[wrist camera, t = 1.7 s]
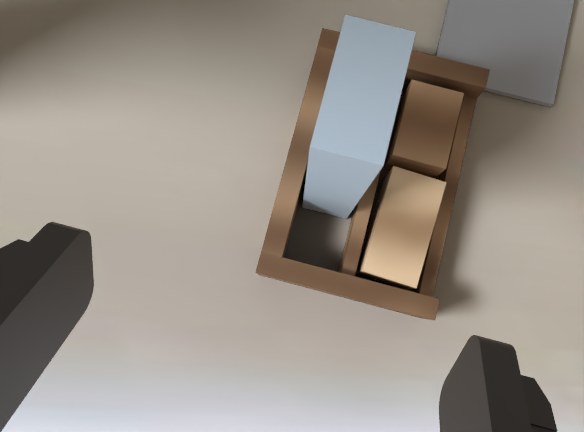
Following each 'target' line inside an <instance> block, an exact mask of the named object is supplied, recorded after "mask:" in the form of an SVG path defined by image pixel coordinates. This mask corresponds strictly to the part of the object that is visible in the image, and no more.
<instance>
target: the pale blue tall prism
mask: <svg viewBox="0 0 584 432" xmlns="http://www.w3.org/2000/svg"><path fill="white" fill-rule="evenodd" d="M415 35H416V32H415V31H411V30H406V29H402V28H398V27H394V26H390V25H386V24H382V23H378V22H374V21H370V20H366V19H362V18H358V17H354V16H349V15H345V17H344V21H343V24H342V28H341V32H340V36H339V39H338V43H337V47H336V51H335V54H334V58H333V62H332V66H331V69H330V73H329V77H328V80H327V84H326V88H325V92H324V95H323V99H322V103H321V107H320V110H319V114H318V118H317V122H316V125H315V129H314V133H313V136H312V140H311V144H310V149H309V157H308V165H307V173H306V181H305V189H304V197H303V205H302V208H306V209H310V210H314V211H318V212H321V213H325V214H329V215H333V216H337V217H341V218H344V219H347V217H348V216H349V214H350V213H351V212H352V210H353V209H354V207H355V206H356V204H357V203H358V202H359V200H360V199H361V197H362V196H363V194H364V193H365V192H366V190H367V189H368V187H369V186H370V184H371V183H372V181H373V180H374V179H375V177H376V176H377V174H378V173H379V171H380V170H381V169H382V167H383V166H384V162H385V158H386V153H387V149H388V145H389V141H390V137H391V133H392V129H393V125H394V121H395V117H396V112H397V108H398V104H399V100H400V96H401V92H402V88H403V84H404V80H405V76H406V72H407V67H408V63H409V59H410V55H411V51H412V47H413V43H414V39H415Z"/></svg>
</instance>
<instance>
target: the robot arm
mask: <svg viewBox="0 0 584 432" xmlns="http://www.w3.org/2000/svg"><path fill="white" fill-rule="evenodd" d="M93 287H94V279H93V263H92V246H91V236H90V234H89V232H88V231H85V230H81V229H77V228H74V227H70V226H66V225H62V224H59V223H55V222H50V223H48V224H46V225H45V226H44V227H43V228H42V229H41V230H40V231H39V232H38V233H37V234H36V235H35V236H34V237H33V238H32V239H31V240H30V242H27V241H23V240H19V239H18V240H16V241H14V242H12V243H10V244H8V245H6V246H4V247H2V248H1V249H0V432H1V431H2V429H3V428H4V426H5V425H6V424H7V422H8V421H9V419H10V418H11V416H12V415H13V414H14V412H15V411H16V409H17V408H18V406H19V405H20V404H21V402H22V401H23V399H24V398H25V397H26V395H27V394H28V392H29V391H30V389H31V388H32V387H33V385H34V384H35V382H36V381H37V379H38V378H39V377H40V375H41V374H42V372H43V371H44V369H45V368H46V367H47V365H48V364H49V362H50V361H51V359H52V358H53V357H54V355H55V354H56V352H57V351H58V349H59V348H60V347H61V345H62V344H63V342H64V341H65V339H66V338H67V337H68V335H69V334H70V332H71V331H72V329H73V328H74V327H75V325H76V324H77V322H78V321H79V319H80V318H81V317H82V315H83V314H84V312H85V311H86V309H87V307H88V305H89V302H90V300H91V297H92V293H93ZM439 419H440V432H557V428H556V424H555V420H554V416H553V412H552V408H551V404H550V403H549V401H548V399H547V398H546V396H545V395H544V393H543V392H542V390H541V388H540V387H539V385H538V384H537V382H536V381H535V379H534V378H530V377H527V376H523V375H520V370H519V365H518V360H517V355H516V351H515V349H514V347H513V346H512V345H510V344H506V343H503V342H499V341H495V340H491V339H488V338H484V337H480V336H476V335H473V336H471V337H470V338H469V340H468V341H467V343H466V345H465V346H464V348H463V350H462V352H461V353H460V355H459V357H458V359H457V360H456V362H455V364H454V365H453V367H452V369H451V371H450V372H449V374H448V376H447V378H446V379H445V382H444V384H443V387H442V391H441V395H440V402H439Z"/></svg>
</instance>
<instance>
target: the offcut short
mask: <svg viewBox="0 0 584 432" xmlns="http://www.w3.org/2000/svg"><path fill="white" fill-rule="evenodd" d="M463 96H464V93H462V92H458V91H454V90H450V89H446V88H442V87H439V86H435V85H431V84H427V83H423V82H419V81H416V80H411V82H410V84H409V85H408V87H407V89H406V91H405V93H404V94H403V96H402V98H401V101H400V105H399V109H398V113H397V117H396V121H395V125H394V128H393V132H392V136H391V140H390V144H389V148H388V152H387V156H386V160H385V164H384V168H387V169H391V168H392V167H393V166H395V167H399V168H402V169H405V170H408V171H411V172H415V173H418V174H421V175H424V176H428V177H431V178H436V177H437V176H438V175H439V174H440V173H442V172H443V171H444V170H445V169H446V167H447V163H448V159H449V154H450V150H451V146H452V142H453V138H454V133H455V129H456V125H457V121H458V117H459V112H460V108H461V104H462V100H463Z"/></svg>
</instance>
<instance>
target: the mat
mask: <svg viewBox="0 0 584 432" xmlns="http://www.w3.org/2000/svg"><path fill="white" fill-rule="evenodd" d="M573 4H574V0H449V2H448V6H447V10H446V15H445V19H444V23H443V27H442V31H441V36H440V40H439V44H438V48H437V53H436V56H437V57H441V58H445V59H449V60H453V61H457V62H461V63H466V64H470V65H474V66H478V67H482V68H486V69H490V72H489V76H488V81H487V86H486V89H485V90H484V91H488V92H492V93H496V94H500V95H504V96H508V97H512V98H516V99H520V100H524V101H528V102H532V103H536V104H540V105H544V106H548V107H551V106H552V105H554V101H555V96H556V91H557V85H558V80H559V75H560V70H561V65H562V60H563V55H564V50H565V45H566V40H567V35H568V30H569V24H570V19H571V14H572V9H573Z"/></svg>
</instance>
